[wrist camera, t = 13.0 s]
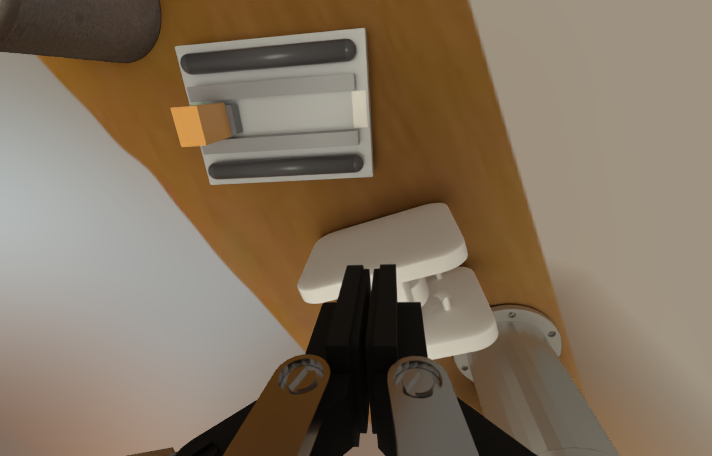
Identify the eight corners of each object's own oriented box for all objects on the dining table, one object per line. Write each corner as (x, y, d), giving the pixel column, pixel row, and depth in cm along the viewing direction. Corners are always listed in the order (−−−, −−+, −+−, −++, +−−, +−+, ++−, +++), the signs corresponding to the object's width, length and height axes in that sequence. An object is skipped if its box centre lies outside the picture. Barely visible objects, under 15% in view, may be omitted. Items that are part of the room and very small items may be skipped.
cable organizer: (451, 192, 34) (480, 242, 23) (472, 276, 37) (506, 353, 27) (317, 232, 37) (290, 293, 26) (350, 306, 41) (337, 385, 30)
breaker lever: (243, 133, 30) (212, 145, 25) (212, 136, 30) (175, 147, 25) (236, 101, 29) (203, 105, 23) (204, 103, 29) (164, 108, 24)
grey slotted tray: (373, 169, 33) (371, 181, 29) (224, 176, 35) (202, 189, 31) (366, 33, 29) (363, 24, 24) (193, 49, 30) (162, 44, 26)
